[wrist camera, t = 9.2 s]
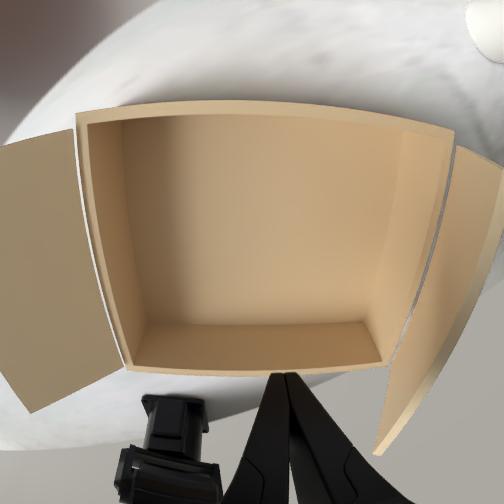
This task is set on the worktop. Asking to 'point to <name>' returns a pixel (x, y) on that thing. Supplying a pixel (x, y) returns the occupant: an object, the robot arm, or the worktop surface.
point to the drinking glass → (486, 27)
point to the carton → (259, 232)
